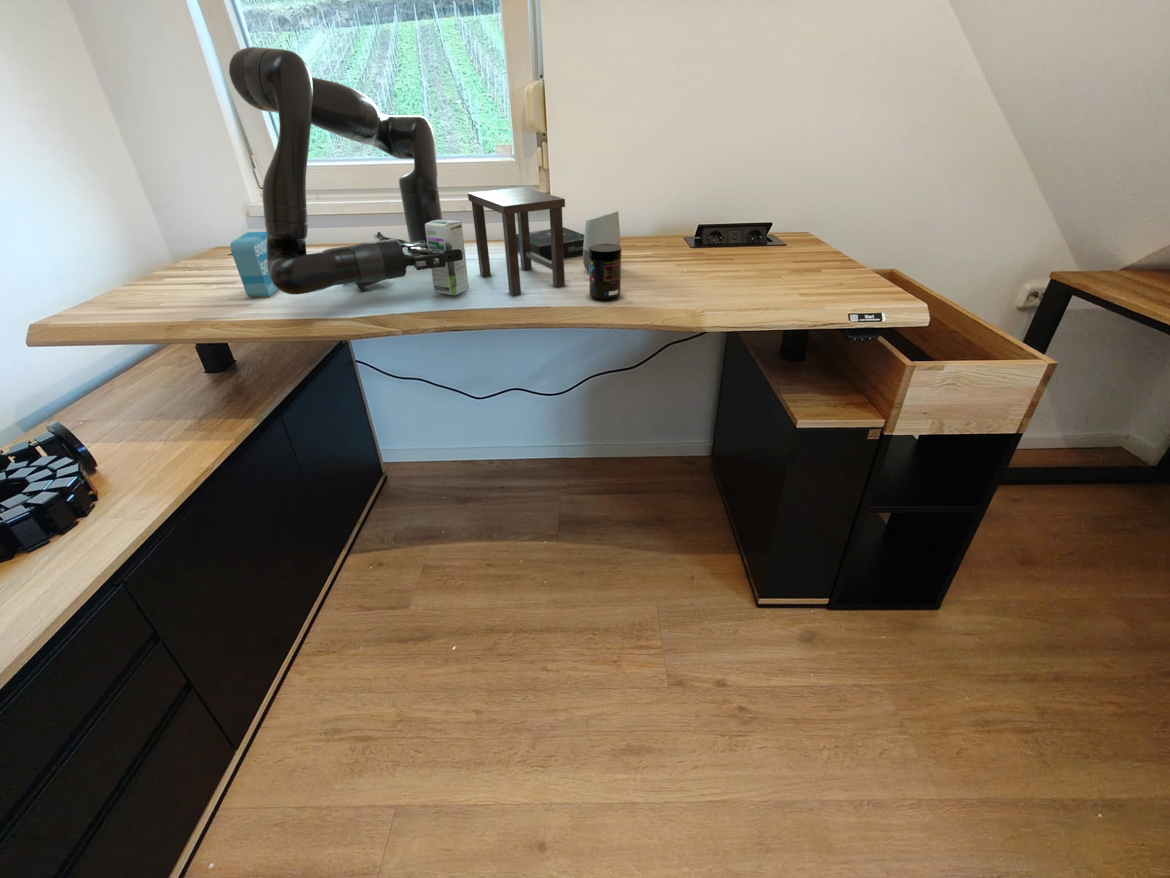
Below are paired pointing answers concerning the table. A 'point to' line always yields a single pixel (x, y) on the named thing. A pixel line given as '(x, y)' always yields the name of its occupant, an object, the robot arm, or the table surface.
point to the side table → (521, 204)
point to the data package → (253, 264)
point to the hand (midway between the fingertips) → (454, 250)
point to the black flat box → (542, 243)
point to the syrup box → (443, 239)
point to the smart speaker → (600, 233)
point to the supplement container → (605, 271)
